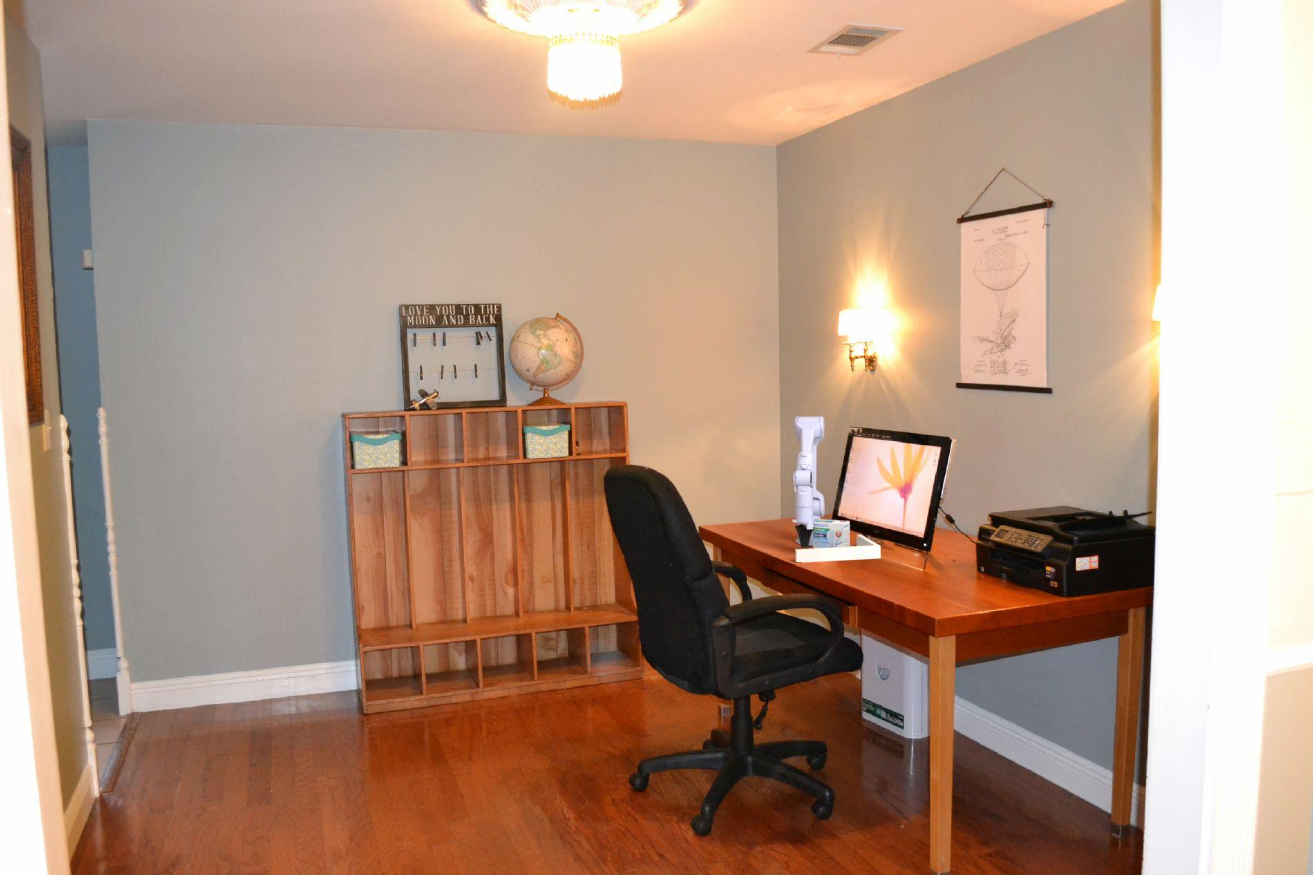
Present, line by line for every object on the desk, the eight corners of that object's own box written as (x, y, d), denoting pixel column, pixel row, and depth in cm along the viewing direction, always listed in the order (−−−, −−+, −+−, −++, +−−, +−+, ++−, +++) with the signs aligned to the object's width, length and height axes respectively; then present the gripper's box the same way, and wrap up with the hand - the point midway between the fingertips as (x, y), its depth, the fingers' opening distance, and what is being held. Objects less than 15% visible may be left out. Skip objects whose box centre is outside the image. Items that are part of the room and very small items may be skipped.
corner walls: (781, 550, 339) (781, 538, 338) (861, 546, 342) (861, 534, 342) (796, 562, 320) (796, 550, 319) (880, 558, 323) (880, 545, 322)
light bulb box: (812, 554, 331) (812, 522, 330) (819, 550, 337) (819, 518, 336) (844, 557, 326) (843, 524, 325) (850, 553, 332) (850, 520, 331)
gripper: (786, 503, 337) (787, 543, 338) (797, 510, 322) (798, 552, 324) (807, 502, 338) (807, 542, 339) (819, 509, 323) (819, 551, 325)
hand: (804, 547), depth 331 cm, fingers closed
